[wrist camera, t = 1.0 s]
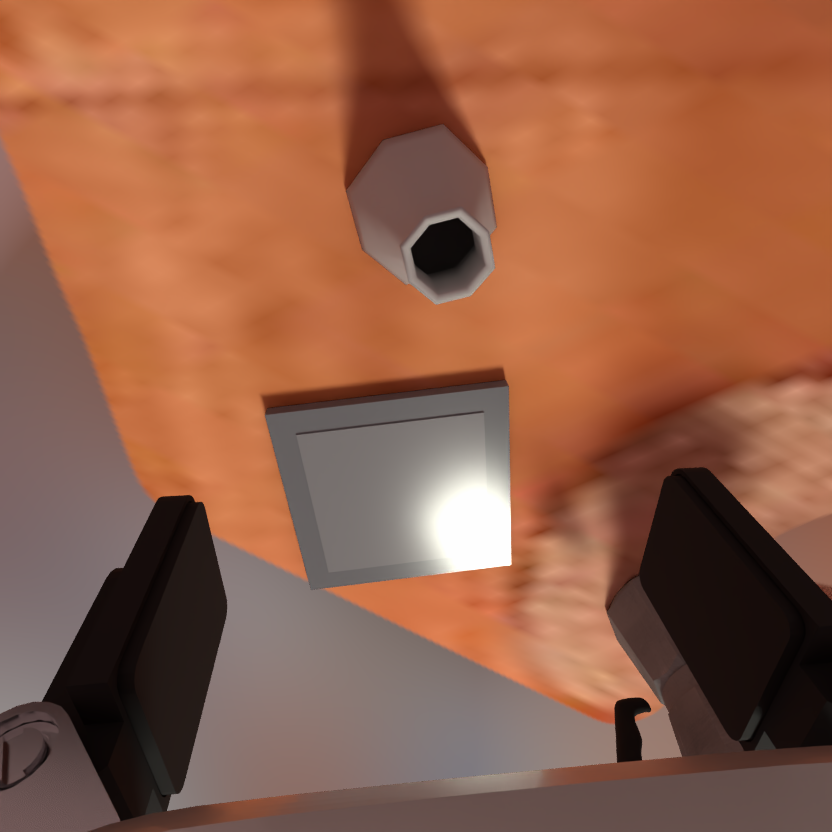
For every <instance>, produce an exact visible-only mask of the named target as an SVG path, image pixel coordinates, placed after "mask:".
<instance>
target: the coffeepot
mask: <svg viewBox="0 0 832 832" xmlns="http://www.w3.org/2000/svg"><path fill="white" fill-rule="evenodd" d="M607 615H608V617H609V620H610V623H611V625H612V628H613V630H614V633H615V636H616V638H617V640H618V642H619V643H620V645H621V646H622V648H623V649H624V650H625V652H626V653H627V655H628V656H629V658H630V659H631V661H632V662H633V663H634V665H635V666H636V668H637V669H638V671H639V672H640V674H641V675H642V676H643V678H644V679H645V681H646V682H647V684H648V685H649V686H650V688H651V689H652V691H653V692H654V694H655V695H656V697H657V698H658V699H659V701H660V702H661V703H662V704H664V705H665V706H666V708H667V709H668V712H669V714H668V715H669V718H670V722H671V725H672V727H673V731H674V733H675V737H676V740H677V743H678V745H679V748H680V751H681V754H682V757H686V756H697V755H708V754H720V753H731V752H742V751H744V750H743V748H742V746H741V744H740V743H739V741H735V740H733V739H731V738H730V737H729V736H728V734H727V733H726V731H725V730H724V728H723V726H722V724H721V723H720V721H719V719H718V718H717V716H716V714H715V712H714V711H713V709H712V707H711V705H710V704H709V702H708V700H707V699H706V697H705V695H704V693H703V692H702V690H701V688H700V686H699V685H698V683H697V681H696V680H695V678H694V676H693V674H692V673H691V671H690V669H689V667H688V666H687V664H686V662H685V661H684V659H683V657H682V655H681V654H680V652H679V650H678V648H677V647H676V645H675V643H674V641H673V640H672V638H671V636H670V635H669V633H668V631H667V629H666V628H665V626H664V624H663V622H662V621H661V619H660V617H659V616H658V614H657V612H656V610H655V609H654V607H653V605H652V603H651V602H650V600H649V598H648V597H647V595H646V593H645V591H644V590H643V588H642V586H641V582H640V577H639V575H638V576H637V577H635V578H633V579H632V580H630V581H629V582H628V583H627V584H625V585H624V586H623V587H622V588H621V590H620V591H619V592H618V593H617V594H616V596H615V597H614V599H613V601H612V603H611V606H610V608H609V610H608V611H607ZM644 712H651V708H650V706H649V704H648V703H647V701H646V700H644V699H642V698H627V699H622V700H619V701H617V702H616V704H615V730H616V748H617V749H616V751H617V763H620V762H631V761H642V756H641V748H642V738H641V736H640V732H639V730H638V727H637V725H636V723H635V716H636V715H637V714H640V713H644Z"/></svg>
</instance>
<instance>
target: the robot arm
mask: <svg viewBox="0 0 832 832" xmlns="http://www.w3.org/2000/svg"><path fill="white" fill-rule="evenodd" d="M639 577H640V582H641V586H642V588H643V590H644V591H645V593H646V595H647V597H648V598H649V600H650V602H651V603H652V605H653V607H654V609H655V610H656V612H657V614H658V616H659V617H660V619H661V621H662V622H663V624H664V626H665V628H666V629H667V631H668V633H669V635H670V636H671V638H672V640H673V641H674V643H675V645H676V647H677V648H678V650H679V652H680V654H681V655H682V657H683V659H684V661H685V662H686V664H687V666H688V667H689V669H690V671H691V673H692V674H693V676H694V678H695V680H696V681H697V683H698V685H699V686H700V688H701V690H702V692H703V693H704V695H705V697H706V699H707V700H708V702H709V704H710V705H711V707H712V709H713V711H714V712H715V714H716V716H717V718H718V719H719V721H720V723H721V724H722V726H723V728H724V730H725V731H726V733H727V734H728V736H729V737H730V738H731V739H733V740H735V741H739V743H740V744H741V746H742V748H743V750H744V751H742V752H731V753H720V754H708V755H697V756H686V757H676V758H664V759H653V760H642V761H631V762H620V763H610V764H598V765H588V766H578V767H568V768H556V769H547V770H535V771H525V772H516V773H504V774H494V775H483V776H473V777H463V778H453V779H442V780H433V781H422V782H412V783H402V784H393V785H383V786H373V787H363V788H353V789H343V790H334V791H324V792H314V793H304V794H295V795H286V796H278V797H269V798H261V799H252V800H245V801H236V802H227V803H219V804H211V805H202V806H195V807H189V808H183V809H178V810H171V811H167V808H168V805H169V800H170V797H171V794H178V793H180V792H181V790H182V788H183V785H184V781H185V778H186V774H187V770H188V766H189V762H190V758H191V754H192V750H193V746H194V742H195V738H196V734H197V731H198V727H199V723H200V719H201V715H202V710H203V707H204V703H205V699H206V695H207V691H208V687H209V683H210V679H211V675H212V671H213V667H214V663H215V659H216V655H217V651H218V647H219V644H220V640H221V636H222V632H223V628H224V624H225V620H226V615H227V599H226V595H225V590H224V586H223V582H222V578H221V574H220V569H219V565H218V561H217V556H216V552H215V548H214V544H213V540H212V535H211V531H210V527H209V523H208V519H207V514H206V510H205V507H204V504H203V503H202V502H195V501H194V498H193V497H192V496H191V495H184V496H165V497H160V498H159V499H158V500H157V501H156V503H155V505H154V508H153V509H152V512H151V514H150V516H149V518H148V520H147V522H146V524H145V526H144V528H143V530H142V532H141V534H140V536H139V538H138V540H137V542H136V544H135V546H134V548H133V550H132V552H131V554H130V556H129V558H128V560H127V562H126V564H125V566H124V568H116V569H114V570H113V571H112V572H110V574H109V575H108V577H107V578H106V580H105V582H104V584H103V586H102V587H101V589H100V591H99V593H98V595H97V597H96V599H95V601H94V603H93V605H92V607H91V609H90V610H89V612H88V614H87V616H86V618H85V620H84V622H83V624H82V626H81V628H80V629H79V632H78V633H77V635H76V637H75V639H74V641H73V643H72V645H71V647H70V649H69V651H68V652H67V654H66V656H65V658H64V660H63V662H62V664H61V666H60V668H59V670H58V672H57V674H56V676H55V677H54V679H53V681H52V683H51V685H50V687H49V689H48V691H47V693H46V695H45V697H44V699H43V700H42V702H31V703H27V704H23V705H19V706H16V707H14V708H12V709H9V710H7V711H5V712H3V713H1V714H0V832H832V600H831V599H830V598H829V597H828V596H827V595H826V594H825V593H824V592H823V591H822V590H821V589H820V588H819V587H818V586H817V584H816V583H815V582H814V581H813V580H812V579H811V578H810V577H809V576H808V575H807V574H806V573H805V572H804V571H803V570H802V569H801V568H800V566H799V565H797V563H796V562H795V561H794V560H793V559H792V558H791V557H790V556H789V555H788V554H787V553H786V551H785V550H784V549H783V548H782V547H781V546H780V545H779V544H778V543H777V542H776V541H775V540H774V539H773V538H772V537H771V536H770V534H769V533H768V532H767V531H766V530H765V529H764V528H763V527H762V526H761V525H760V524H759V523H758V522H757V521H756V520H755V518H754V517H753V516H752V515H751V514H750V513H749V512H748V511H747V510H746V509H745V508H744V507H743V506H742V505H741V504H740V503H739V501H738V500H737V499H736V498H735V497H734V496H733V495H732V494H731V493H730V492H729V491H728V490H727V489H726V488H725V487H724V485H723V484H722V483H721V482H720V481H719V480H718V479H717V478H716V477H715V476H714V475H713V474H712V473H711V472H710V471H709V470H708V469H707V468H703V467H699V468H681V469H675V470H674V471H673V472H672V474H671V476H668V477H666V478H665V479H664V482H663V485H662V489H661V493H660V497H659V500H658V504H657V508H656V511H655V515H654V519H653V522H652V526H651V530H650V534H649V537H648V541H647V545H646V548H645V552H644V556H643V560H642V563H641V567H640V572H639Z"/></svg>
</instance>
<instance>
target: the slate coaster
mask: <svg viewBox="0 0 832 832" xmlns="http://www.w3.org/2000/svg"><path fill="white" fill-rule="evenodd" d="M265 418H266V421H267V425H268V429H269V433H270V437H271V440H272V444H273V448H274V452H275V455H276V459H277V463H278V467H279V471H280V474H281V478H282V482H283V486H284V490H285V493H286V497H287V501H288V505H289V509H290V512H291V516H292V520H293V524H294V528H295V531H296V535H297V539H298V543H299V547H300V550H301V554H302V558H303V562H304V566H305V569H306V573H307V577H308V581H309V585H310V588H311V590H315V589H323V588H331V587H339V586H347V585H355V584H363V583H371V582H379V581H386V580H394V579H402V578H410V577H418V576H426V575H434V574H442V573H450V572H458V571H466V570H474V569H482V568H490V567H498V566H506V565H511V517H510V442H509V386H508V384H507V382H506V380H502V381H493V382H485V383H476V384H468V385H459V386H451V387H443V388H434V389H426V390H417V391H409V392H401V393H392V394H384V395H375V396H367V397H359V398H350V399H342V400H333V401H325V402H316V403H308V404H300V405H291V406H283V407H274V408H267V410H266V413H265Z"/></svg>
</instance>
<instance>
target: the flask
mask: <svg viewBox="0 0 832 832" xmlns="http://www.w3.org/2000/svg"><path fill="white" fill-rule="evenodd" d="M346 193H347V197H348V200H349V204H350V208H351V211H352V215H353V218H354V222H355V226H356V229H357V233H358V236H359V240H360V244H361V247H362V250H363V251H364V252H366V253H367V254H368V255H369V256H371V257H372V258H373V259H374V260H376V261H377V262H378V263H379V264H381V265H382V266H383V267H384V268H386V269H387V270H388V271H389V272H391V273H392V274H393V275H394V276H396V277H397V278H398V279H399V280H401V281H402V282H403V283H404V284H406V285H407V284H411V285H412V286H414V287H415V288H416V289H417V290H419V291H420V292H421V293H422V294H424V295H425V296H426V297H427V298H429V299H430V300H431V301H432V302H434V303H435V304H436V305H437V304H441V303H445V302H449V301H452V300H456V299H460V298H464V297H468V296H471V295H472V294H473V293H474V292H475V290H476V289H477V288H478V287H479V286H480V285H481V284H482V283H483V281H484V280H485V279H486V278H487V277H488V276H489V275H490V273H491V272H492V271H493V270H494V269H495V264H494V258H493V252H492V246H491V240H490V235H491V233H492V232H493V231H494V230H495V229H496V228H497V224H496V218H495V211H494V205H493V199H492V192H491V186H490V179H489V173H488V167H487V166H486V165H485V164H484V163H483V162H482V161H481V160H480V159H479V158H478V157H477V156H476V155H475V154H474V153H473V152H472V151H471V150H470V149H468V148H467V147H466V146H465V145H464V144H463V143H462V142H461V141H460V140H459V139H458V138H457V137H456V136H455V135H454V134H453V133H452V132H451V131H450V130H449V129H448V128H447V127H446V126H445V125H444V124H441V125H437V126H433V127H430V128H426V129H422V130H418V131H415V132H411V133H407V134H403V135H400V136H396V137H392V138H388V139H385V140H383V141H382V142H381V143H380V145H379V146H378V147H377V149H376V150H375V152H374V153H373V154H372V156H371V157H370V158H369V160H368V161H367V163H366V164H365V165H364V167H363V168H362V169H361V171H360V172H359V174H358V175H357V176H356V178H355V179H354V181H353V182H352V183H351V185H350V186H349V187H348V189H347V190H346Z"/></svg>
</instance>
